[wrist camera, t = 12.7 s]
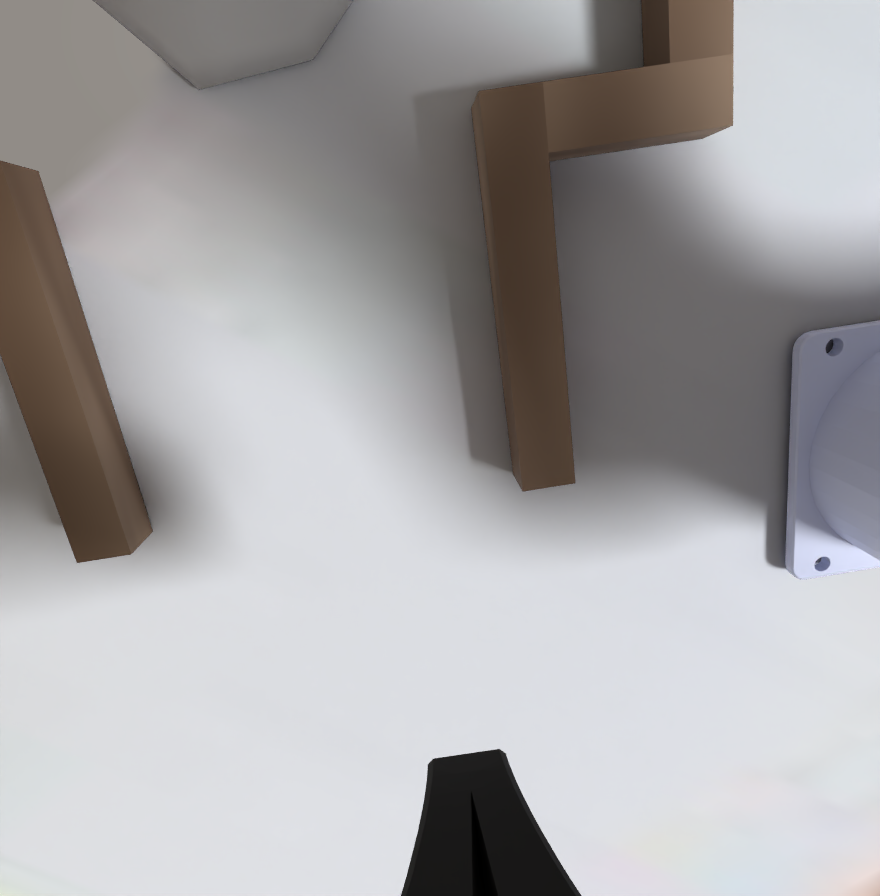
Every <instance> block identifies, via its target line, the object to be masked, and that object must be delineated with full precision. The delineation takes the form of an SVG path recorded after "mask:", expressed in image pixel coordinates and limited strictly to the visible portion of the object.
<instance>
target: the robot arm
mask: <svg viewBox="0 0 880 896" xmlns="http://www.w3.org/2000/svg"><path fill="white" fill-rule="evenodd" d="M831 339H833V342H834V345H833V348H832V350H831V351H830V352H829V353H826V349H825V348H826V345H827V343H828V342H829V341H830V340H831ZM821 557H822V559H821V561H820V562H819V563H818V564H816V565H815V562H816V561H817V560H818V558H821ZM785 565H786V569H787V570H788V572H789V573H790V574H792V575H793V576H794V577H796V578H798V579H811V578H817V577H823V576H829V575H835V574H842V573H848V572H854V571H860V570H866V569H872V568H878V567H880V320H878V321H872V322H865V323H859V324H852V325H846V326H840V327H833V328H827V329H820V330H814V331H809V332H806V333H803V334H802V335H801V336H800V337H799V338H798V339H797V340H796V342H795V344H794V347H793V355H792V384H791V413H790V442H789V471H788V500H787V529H786V558H785ZM401 896H581V894H580V893H579V891H578V890H577V888H576V887H575V885H574V884H573V882H572V881H571V879H570V878H569V876H568V874H567V873H566V871H565V870H564V868H563V866H562V865H561V863H560V862H559V860H558V858H557V856H556V855H555V853H554V851H553V850H552V848H551V846H550V845H549V843H548V841H547V839H546V838H545V836H544V834H543V833H542V831H541V829H540V827H539V826H538V824H537V822H536V820H535V818H534V816H533V815H532V813H531V811H530V809H529V807H528V805H527V803H526V801H525V799H524V797H523V795H522V793H521V791H520V789H519V786H518V784H517V782H516V780H515V777H514V775H513V773H512V770H511V768H510V765H509V762H508V759H507V756H506V753H504V752H503V751H501V750H500V749H497V750H490V751H483V752H476V753H469V754H462V755H456V756H449V757H442V758H435V759H433V760H432V761H431V762H430V763H429V764H428V774H427V784H426V792H425V798H424V804H423V810H422V815H421V819H420V824H419V829H418V834H417V838H416V842H415V846H414V850H413V854H412V857H411V861H410V865H409V869H408V873H407V877H406V880H405V884H404V887H403V891H402V894H401Z"/></svg>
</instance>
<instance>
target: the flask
mask: <svg viewBox="0 0 880 896" xmlns="http://www.w3.org/2000/svg"><path fill="white" fill-rule="evenodd" d="M93 1H94V2H96V3H97V4H98V5H99V6H100V7H102V8H103V9H104V10H105V11H106V12H107V13H109V14H110V15H111V16H112V17H113V18H115V19H116V20H117V21H118V22H119V23H121V24H122V25H123V26H124V27H125V28H126V29H128V30H129V31H130V32H131V33H132V34H134V35H135V36H136V37H137V38H138V39H139V40H141V41H142V42H143V43H144V44H145V45H147V46H148V47H149V48H150V49H151V50H152V51H154V52H155V53H156V54H157V55H158V56H160V57H161V58H162V59H163V60H164V61H166V62H167V63H168V64H169V65H170V66H171V67H173V68H174V69H175V70H176V71H177V72H179V73H180V74H181V75H182V76H183V77H185V78H186V79H187V80H188V81H189V82H190V83H192V84H193V85H194V86H195V87H196V88H198V89H199V90H200V89H204V88H208V87H211V86H215V85H219V84H223V83H227V82H231V81H234V80H238V79H242V78H246V77H250V76H253V75H257V74H261V73H265V72H269V71H272V70H276V69H280V68H284V67H288V66H291V65H295V64H299V63H303V62H307V61H311V60H313V59H314V58H315V56H316V55H317V53H318V52H319V50H320V49H321V47H322V46H323V44H324V43H325V41H326V40H327V38H328V37H329V35H330V34H331V32H332V31H333V29H334V28H335V26H336V25H337V23H338V22H339V21H340V19H341V18H342V16H343V15H344V13H345V12H346V10H347V9H348V7H349V6H350V4H351V3H352V1H353V0H93Z"/></svg>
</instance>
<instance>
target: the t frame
mask: <svg viewBox="0 0 880 896" xmlns="http://www.w3.org/2000/svg"><path fill="white" fill-rule="evenodd" d="M641 4H642V32H643V60H644V67H640V68H633V69H626V70H619V71H612V72H606V73H599V74H592V75H585V76H578V77H571V78H564V79H557V80H550V81H544V82H537V83H530V84H523V85H516V86H509V87H502V88H495V89H488V90H482V91H479V92H478V94H477V96H476V98H475V101H474V103H473V105H472V107H471V111H472V120H473V129H474V137H475V146H476V155H477V164H478V172H479V181H480V190H481V199H482V207H483V216H484V225H485V234H486V242H487V251H488V260H489V269H490V277H491V286H492V295H493V304H494V312H495V321H496V330H497V339H498V348H499V356H500V365H501V374H502V383H503V391H504V400H505V409H506V418H507V426H508V435H509V444H510V453H511V461H512V470H513V475H514V477H515V478H516V480H517V482H518V484H519V486H520V487H521V489H522V491H529V490H535V489H542V488H548V487H554V486H560V485H567V484H573V483H575V473H574V461H573V448H572V436H571V423H570V411H569V399H568V386H567V374H566V362H565V349H564V337H563V325H562V312H561V300H560V287H559V275H558V263H557V250H556V238H555V226H554V213H553V201H552V189H551V176H550V164H549V161H555V160H562V159H569V158H575V157H582V156H589V155H596V154H602V153H609V152H616V151H623V150H629V149H636V148H643V147H650V146H656V145H663V144H670V143H677V142H683V141H690V140H697V139H703V138H705V137H707V136H710V135H712V134H714V133H716V132H719V131H721V130H723V129H726V128H728V127H730V126H733V0H641ZM0 354H1V357H2V360H3V363H4V365H5V368H6V371H7V374H8V376H9V379H10V382H11V384H12V387H13V390H14V393H15V395H16V398H17V401H18V404H19V406H20V409H21V412H22V414H23V417H24V420H25V423H26V425H27V428H28V431H29V434H30V436H31V439H32V442H33V444H34V447H35V450H36V453H37V455H38V458H39V461H40V463H41V466H42V469H43V472H44V474H45V477H46V480H47V483H48V485H49V488H50V491H51V493H52V496H53V499H54V502H55V504H56V507H57V510H58V513H59V515H60V518H61V521H62V523H63V526H64V529H65V532H66V534H67V537H68V540H69V543H70V545H71V548H72V551H73V553H74V556H75V559H76V562H77V563H80V562H86V561H92V560H98V559H105V558H111V557H117V556H123V555H130V554H132V553H133V552H134V551H135V550H136V549H137V548H138V547H139V546H140V544H141V543H142V542H143V541H144V540H145V539H146V538H147V537H148V536H149V535H150V534H151V533H152V532H153V530H152V527H151V524H150V520H149V517H148V514H147V511H146V508H145V505H144V502H143V498H142V495H141V492H140V489H139V486H138V483H137V480H136V476H135V473H134V470H133V467H132V464H131V461H130V458H129V454H128V451H127V448H126V445H125V442H124V439H123V436H122V432H121V429H120V426H119V423H118V420H117V417H116V414H115V410H114V407H113V404H112V401H111V398H110V395H109V392H108V388H107V385H106V382H105V379H104V376H103V373H102V370H101V366H100V363H99V360H98V357H97V354H96V351H95V348H94V344H93V341H92V338H91V335H90V332H89V329H88V326H87V322H86V319H85V316H84V313H83V310H82V307H81V304H80V300H79V297H78V294H77V291H76V288H75V285H74V282H73V278H72V275H71V272H70V269H69V266H68V263H67V260H66V256H65V253H64V250H63V247H62V244H61V241H60V238H59V234H58V231H57V228H56V225H55V222H54V219H53V216H52V212H51V209H50V206H49V203H48V200H47V197H46V194H45V190H44V187H43V184H42V181H41V178H40V175H39V172H38V171H36V170H32V169H29V168H25V167H21V166H18V165H14V164H10V163H7V162H3V161H0Z"/></svg>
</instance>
